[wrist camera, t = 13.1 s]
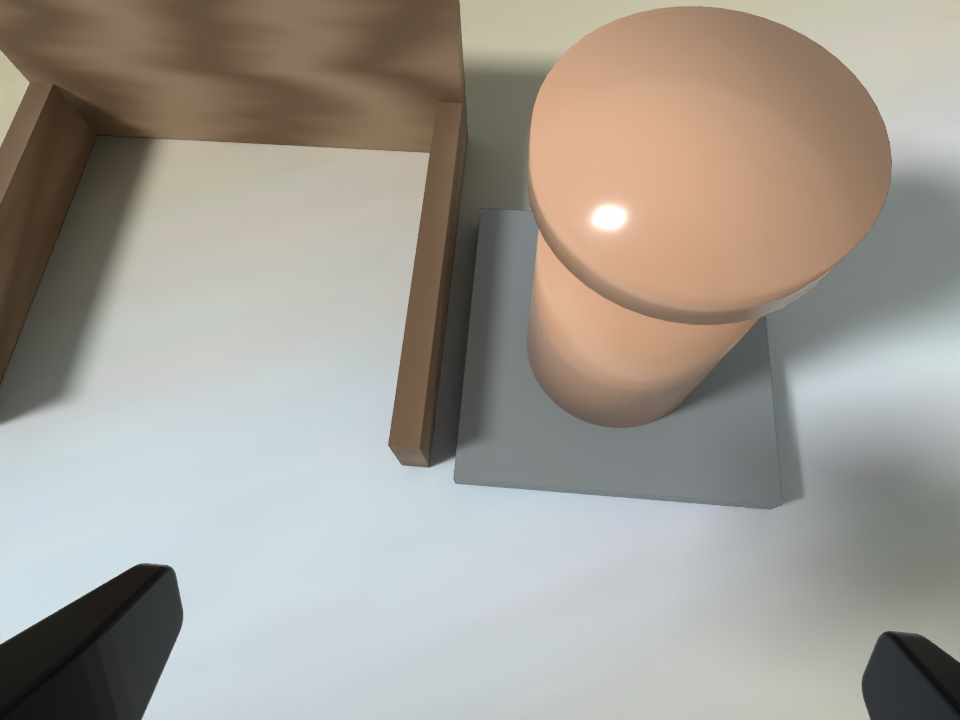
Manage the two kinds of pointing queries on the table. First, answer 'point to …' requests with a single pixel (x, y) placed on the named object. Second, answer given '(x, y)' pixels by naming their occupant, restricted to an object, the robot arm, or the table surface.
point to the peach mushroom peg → (686, 199)
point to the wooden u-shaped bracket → (240, 124)
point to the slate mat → (588, 447)
